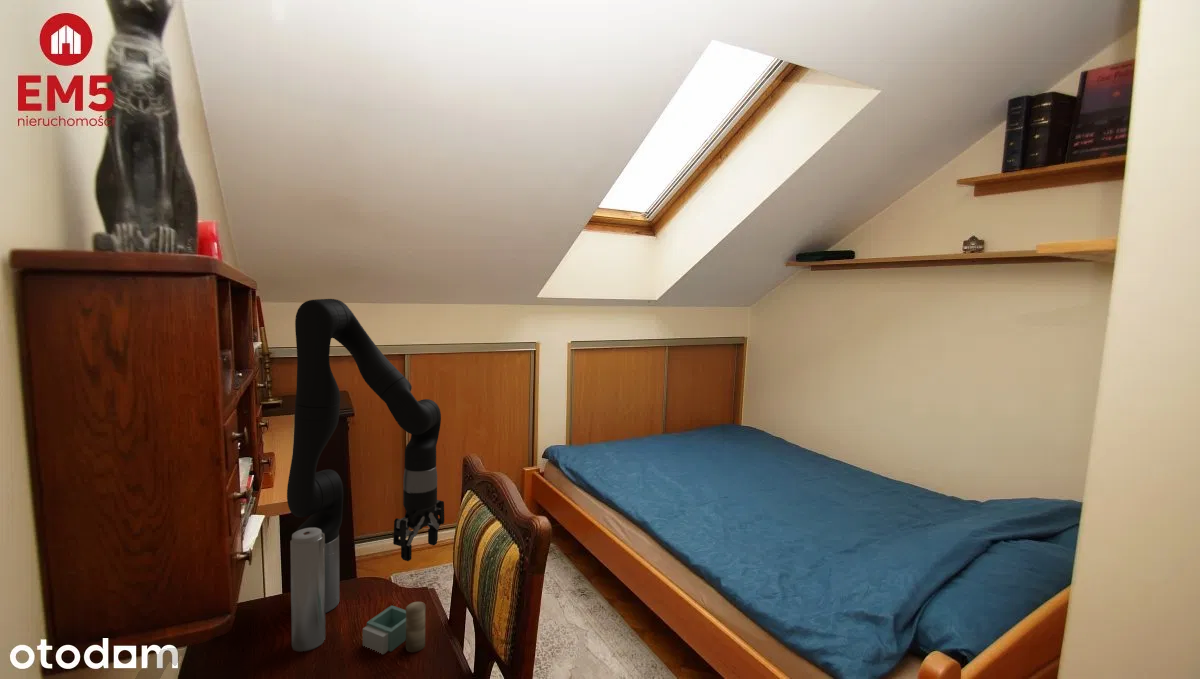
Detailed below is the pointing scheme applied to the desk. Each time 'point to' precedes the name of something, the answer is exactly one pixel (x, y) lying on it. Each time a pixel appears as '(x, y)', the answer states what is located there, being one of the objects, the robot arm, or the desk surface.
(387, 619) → the grey-green open box
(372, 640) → the grey flat slab
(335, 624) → the desk surface
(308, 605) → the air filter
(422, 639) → the dowel
